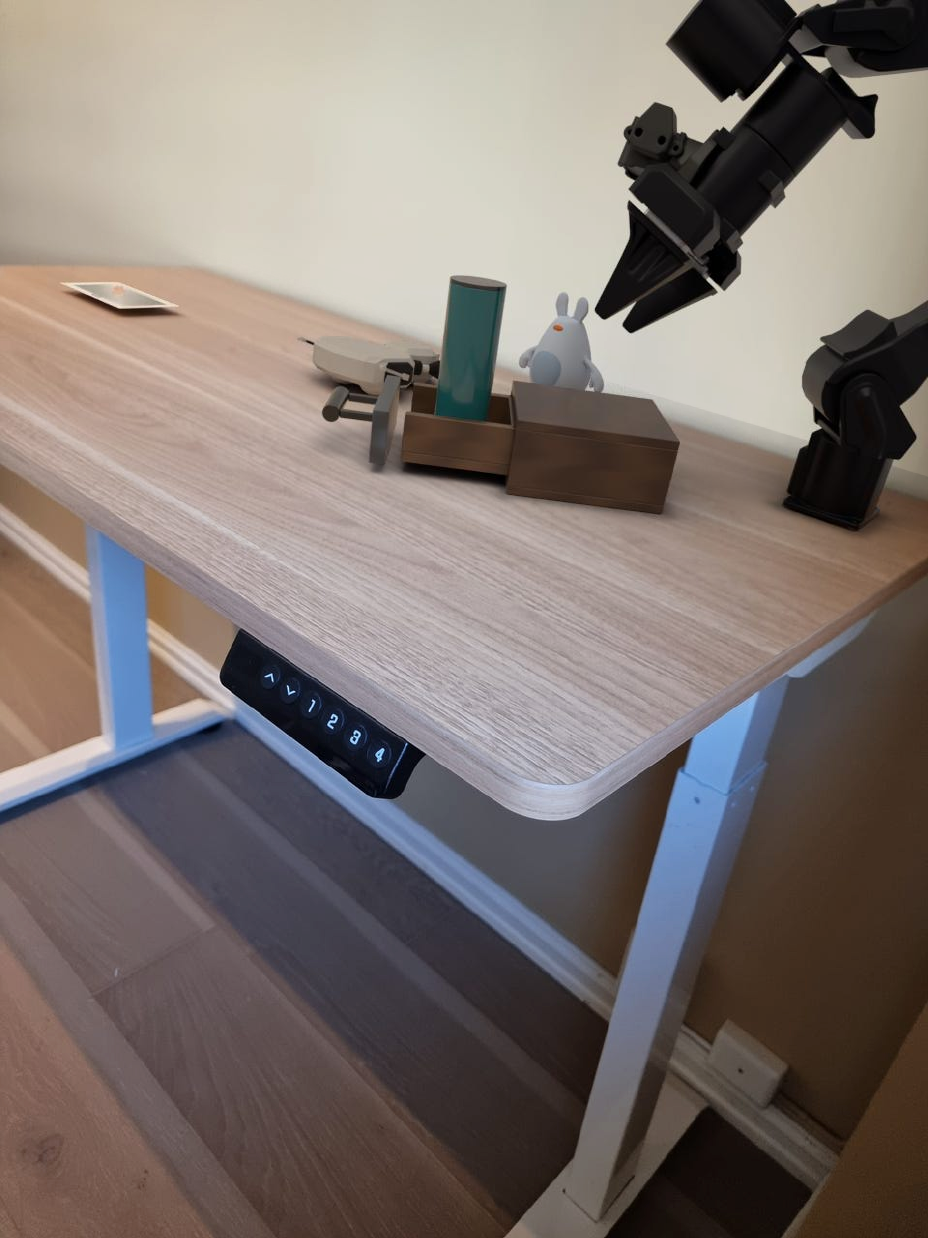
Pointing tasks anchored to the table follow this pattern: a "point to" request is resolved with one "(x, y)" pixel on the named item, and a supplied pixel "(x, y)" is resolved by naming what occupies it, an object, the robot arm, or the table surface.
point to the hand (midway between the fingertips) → (613, 322)
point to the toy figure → (564, 351)
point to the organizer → (590, 448)
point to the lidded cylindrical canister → (469, 347)
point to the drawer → (432, 429)
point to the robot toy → (374, 361)
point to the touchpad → (119, 295)
